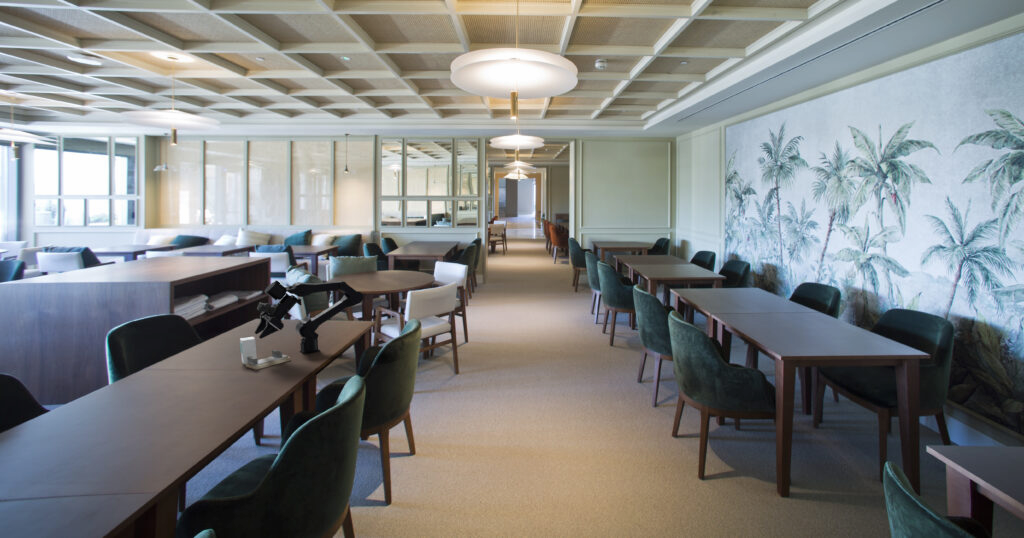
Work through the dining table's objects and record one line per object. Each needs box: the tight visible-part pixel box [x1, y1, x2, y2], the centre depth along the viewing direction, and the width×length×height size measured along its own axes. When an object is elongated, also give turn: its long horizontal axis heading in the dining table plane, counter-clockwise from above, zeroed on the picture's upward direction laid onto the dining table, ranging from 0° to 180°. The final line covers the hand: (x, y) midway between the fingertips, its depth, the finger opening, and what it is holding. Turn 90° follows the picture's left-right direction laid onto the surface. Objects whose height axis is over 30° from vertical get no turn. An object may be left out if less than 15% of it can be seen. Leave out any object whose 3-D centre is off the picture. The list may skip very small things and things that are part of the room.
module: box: [239, 336, 258, 365], centre depth 215 cm, size 5×4×10 cm
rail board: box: [245, 349, 291, 370], centre depth 213 cm, size 15×8×4 cm, turn 145°
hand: (257, 335), depth 216 cm, fingers open, 9 cm apart
